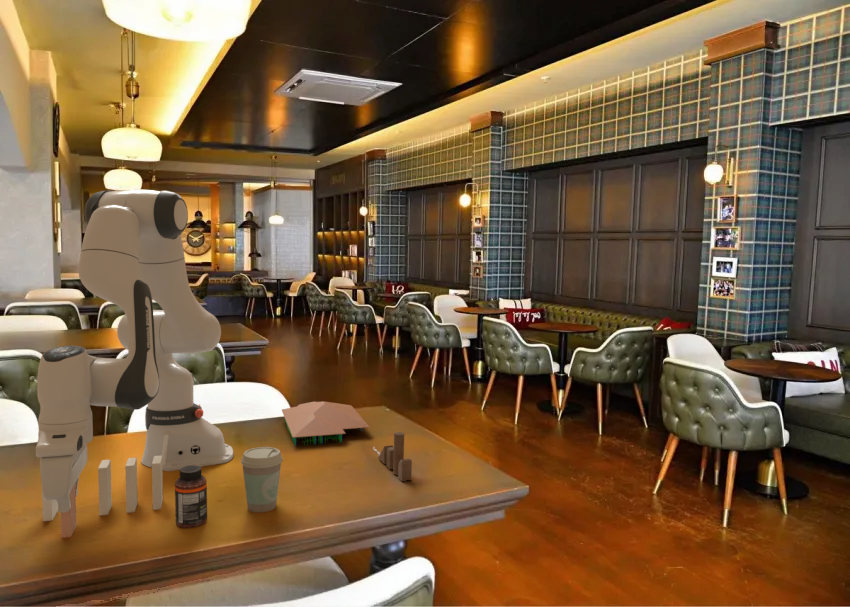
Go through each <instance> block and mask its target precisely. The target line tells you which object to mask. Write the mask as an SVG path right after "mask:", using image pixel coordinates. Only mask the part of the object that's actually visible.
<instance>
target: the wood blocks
mask: <svg viewBox="0 0 850 607" xmlns="http://www.w3.org/2000/svg"><path fill="white" fill-rule="evenodd" d="M372 449H373V451H374V452H375V453H377V455H378V460H379V461H380V462H382V464H384V465H386V467H388V468H387V469H388V470H390V469H392V470H393V471H392V472H393V473H394V474H395V475H394V474H393V473H392V474H393V475H394V476H398V477H397V479H398V480H399V481H400V482H402V481H404V482H406V481H405V480H411V481H412V467H413V466H412V465H413V461H412V459H411V458H405V459H404V457H405V432H402V431H400V432H399V431H397V432H394V433H393V445H385V446H384V447H382V450H381V452H380V451H379V450H378V449H376V447H375V446H373V448H372Z"/></svg>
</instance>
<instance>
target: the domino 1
mask: <svg viewBox="0 0 850 607" xmlns="http://www.w3.org/2000/svg"><path fill="white" fill-rule="evenodd" d="M69 498H70V500H71V504H70V505H71V507H70V509H69V511H68V512H63V513H60V533H61V539H62V538H63V539H64V538H71V537H72V536H73V534H74V532H75V530H76V528H77V499H76V498H77V496H76V492H75V484H74V486H73V488H72V489H71V491H70V494H69Z"/></svg>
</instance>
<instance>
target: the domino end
mask: <svg viewBox="0 0 850 607" xmlns="http://www.w3.org/2000/svg"><path fill="white" fill-rule="evenodd" d="M41 502H42V522H49V521H50V522H51V521H53V520H54V518H55V516H56V515H57V513H58V512H59V511H58V503H57V500H46V499H45V497H44V495H43V491H42V490H41Z"/></svg>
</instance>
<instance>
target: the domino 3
mask: <svg viewBox="0 0 850 607" xmlns="http://www.w3.org/2000/svg"><path fill="white" fill-rule="evenodd" d="M137 463H138V458H137V457H128V459H127V461H126V464H125V467H124V469H125V502H126V503H125V509H126V510H125V512H126V513H127V514H129V513H135V512H136V509H137V505H138V464H137Z"/></svg>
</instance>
